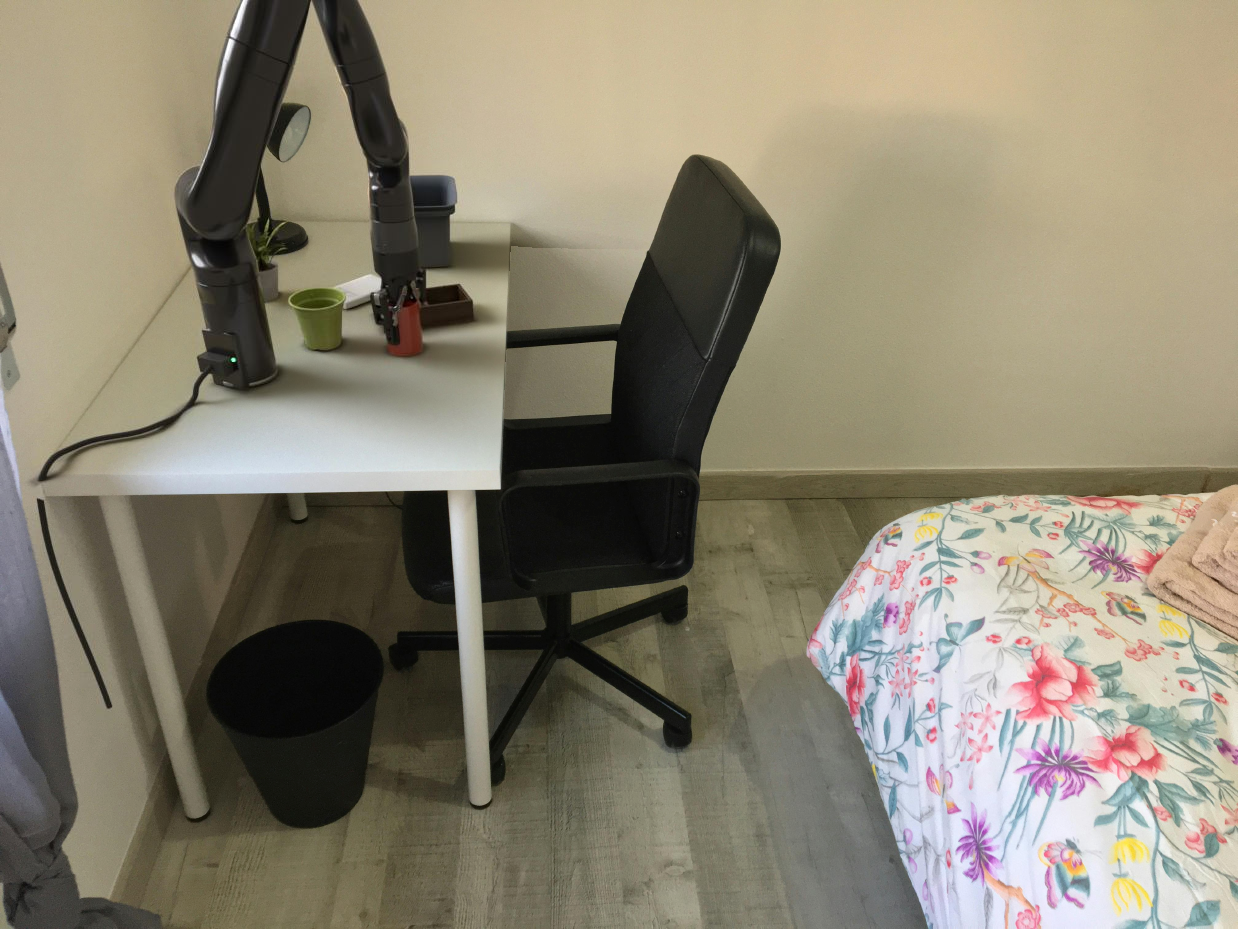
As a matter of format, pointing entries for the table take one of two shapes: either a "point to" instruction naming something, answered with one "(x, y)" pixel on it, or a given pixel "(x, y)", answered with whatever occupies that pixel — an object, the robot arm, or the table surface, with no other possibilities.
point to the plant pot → (319, 316)
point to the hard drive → (359, 290)
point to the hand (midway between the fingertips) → (404, 336)
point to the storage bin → (433, 217)
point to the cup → (408, 330)
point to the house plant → (266, 262)
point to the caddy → (445, 306)
